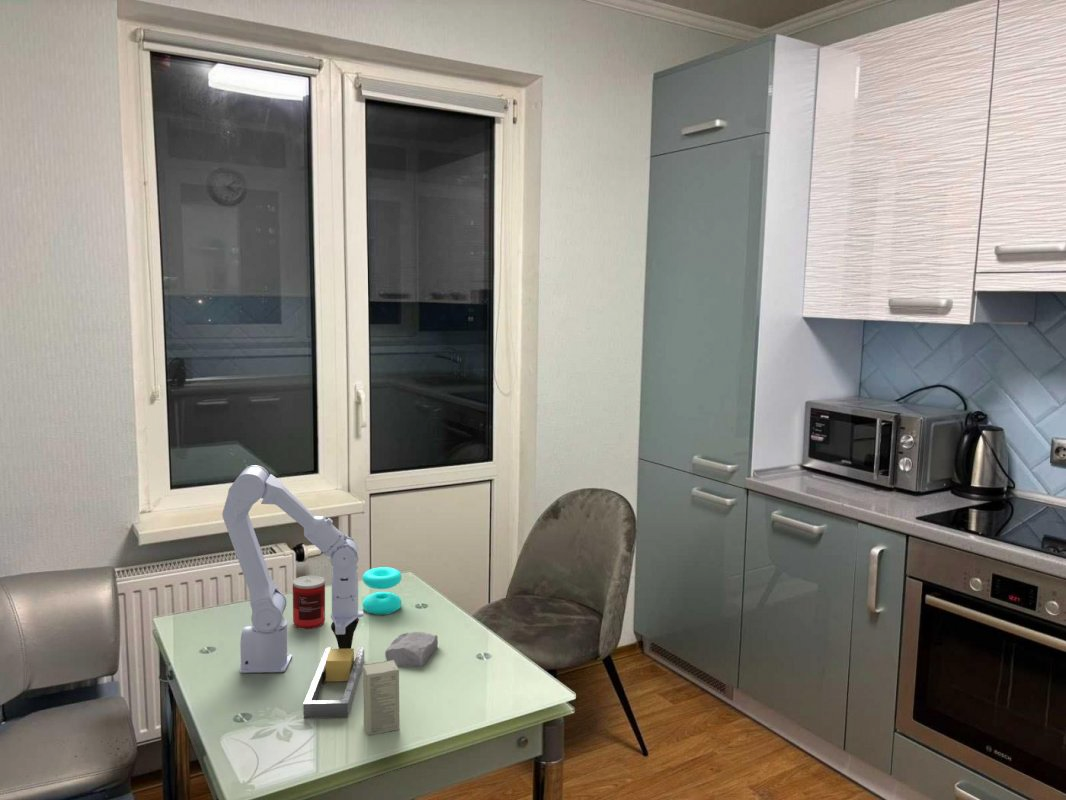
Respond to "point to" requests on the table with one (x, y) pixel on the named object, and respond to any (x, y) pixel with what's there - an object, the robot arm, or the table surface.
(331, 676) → the block
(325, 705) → the chute
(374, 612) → the donuts
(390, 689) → the skincare box
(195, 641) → the table surface
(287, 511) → the robot arm
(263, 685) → the table surface
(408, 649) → the stone block
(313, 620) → the canned food
